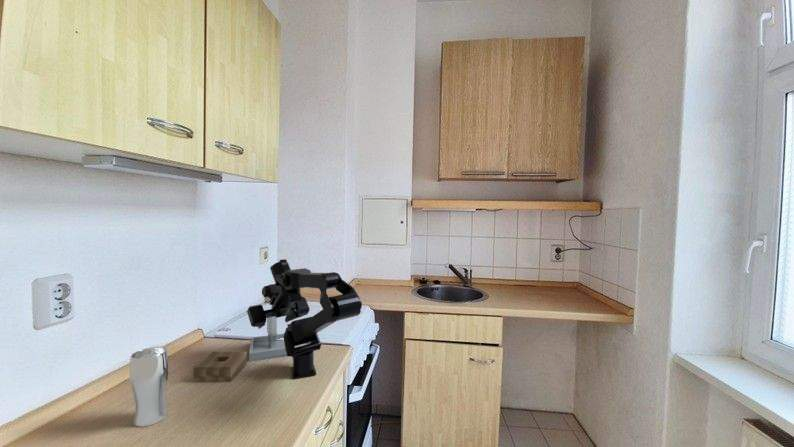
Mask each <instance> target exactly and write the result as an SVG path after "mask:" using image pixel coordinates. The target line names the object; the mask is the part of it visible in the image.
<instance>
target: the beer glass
mask: <svg viewBox="0 0 794 447" xmlns="http://www.w3.org/2000/svg"><path fill="white" fill-rule="evenodd" d="M129 357H130V361H129V362H130V363H129V383H130V388H131V389H130V390H131V392H132V397H133V400H134V405H135V412H134V417H133V425H134V426H135V427H140V428H141V427H142V428H145V427H149V426H152V425H155V424H157V423H159V422H161V421H163V420H164V419H165V418H166V417H167V415H168V408H167V405H166V391H167V385H168V380H169V379H168V378H169V372H170V371H169V365H170V364H169V355H168V348H167V347H165V346H152V347H151V346H150V347H147V348H143V349H140V350H137V351H134V352H133V353H132V354H130V356H129Z"/></svg>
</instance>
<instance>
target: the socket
mask: <svg viewBox="0 0 794 447" xmlns="http://www.w3.org/2000/svg"><path fill="white" fill-rule="evenodd" d="M247 352H248V351H212V352H211V353H210V354H209V355H207V356H206V357H205V358H204V359H202V360H201V361H199V363H197V364H196V365H194V367H193V382H194V383H196V382H197V383H201V382H204V383H205V382H207V383H210V382H211V383H212V382H213V383H214V382H215V383H216V382H219V383H220V382H228V383H230V382H232V381H233V380H234V379H235V378H236V377H237V376H238V375H239V374H240V373H241V371H242V370H243V369H244V368H245V367H246V366H247V365H248V364H247V363H248V362H247V361H248V356H247V355H248V353H247Z"/></svg>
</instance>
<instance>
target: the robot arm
mask: <svg viewBox="0 0 794 447" xmlns="http://www.w3.org/2000/svg"><path fill="white" fill-rule="evenodd" d="M269 269H270V273H271V275H272V278H273V281H274V283H273V284H269V285H264V286H263V287H262V288H261V294H262V296H263V298H269V302H268V304H269V305H270V306H271V308H270V309H266V310H265V308H264V307H263V306H264V305H263V304H261V303H260V304H256V305H250V306H249V307H248V308H247V311H246V314H247V316H248V320H249V323H250V325H251V327H253V328H255V327H256V328H258V330H260V329H262V328H263V327H264V326H266V324H267V318H270V317H275V316H276V319H279V318H281V317H284V318H285V319H284V321H285V323H287V327H286V328H285V331H284V332H283V334H284V336H283V337H284V344H285V350H286V353H287V356H286V357H291V358H292V367H291V368H290V369H291V378H292V379H293V380H294V379H299V378H306V377H312V376H316V375H317V371H316V368H315V364H314V362H315V361H314V360H315V359H314V358H315V357H314V352H315V351H319V350H321V349H322V348H321V347H322V342H321V340H320V337H319V334H318V333H319V332H321V331H323V330H324V329H326V328H327V327H329V326H331V325H333V324H334V323H336V322H338V321H342V320H347V319H350V318H354V317H357V316H359V315H360V314H361V313H362V306H363V303H362V302H363V301H362V299H361V297H360V296H359V295H358V292H357V291H356V290H355V288H354V287H353V285H351V284H349V283H348V282H346V281H345V280H343V279H342V277H341V275H340V274H339V273H338V272H333V271H332V272H312V271H311V270H310V269H307V268H305V267H304V268H303V267H302V268H297V269H291V267H290V264H289V262H288V260H287V259H286V258H284V259H279V261H277V262H275V263H273V264H272V265H271V266H270V268H269ZM303 288H305V289H306V288H311V289H312V288H313V289H319V291H320V295H319V296H320V297H319V304H320V306H321V308H322V309H321V310H320V311H318V312H317V313H315V314H314V315H313V316H308V314H309V312H310V305H309V304H308V301H307V299H306V297H304V296H302V294H301V289H303ZM330 289H335V290H336V291H337V292H338V293H340V294H339V295H333V296H329V295H328V294H327V290H330ZM304 316H308V317H304ZM302 317H304V318H302ZM288 322H290V323H288ZM294 346H296V348H295V347H294Z"/></svg>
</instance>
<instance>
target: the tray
mask: <svg viewBox="0 0 794 447" xmlns="http://www.w3.org/2000/svg"><path fill="white" fill-rule="evenodd" d="M283 336H284V333H279V334H278V333H277V335H276V340H277V339H280V338H284V337H283ZM294 347H295V348H296V347H297V346H294ZM283 357H288V356H287V353H286V350H285V344H284V341H276V347H275V348H270V347H268V335H261V336H253V337H251V338H250V347H249V353H248V360H249V362H254V361H256V362H257V361H261V360H268V359H277V358H283Z"/></svg>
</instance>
